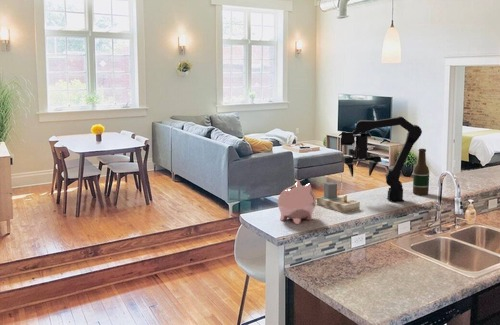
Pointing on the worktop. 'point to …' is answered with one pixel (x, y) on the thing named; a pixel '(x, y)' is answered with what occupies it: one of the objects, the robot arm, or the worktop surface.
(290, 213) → the piggy bank
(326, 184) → the grey block
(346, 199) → the brass pin
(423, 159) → the beer bottle
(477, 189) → the worktop surface
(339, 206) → the stand
